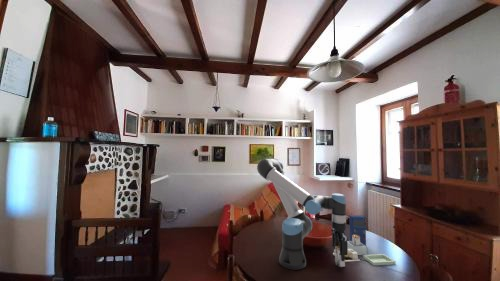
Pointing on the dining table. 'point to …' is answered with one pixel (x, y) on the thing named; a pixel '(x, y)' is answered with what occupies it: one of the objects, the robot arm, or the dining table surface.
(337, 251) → the cell
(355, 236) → the cell
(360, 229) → the electronic device
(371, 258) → the trough
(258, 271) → the dining table surface
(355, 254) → the cradle
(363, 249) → the grey open box
